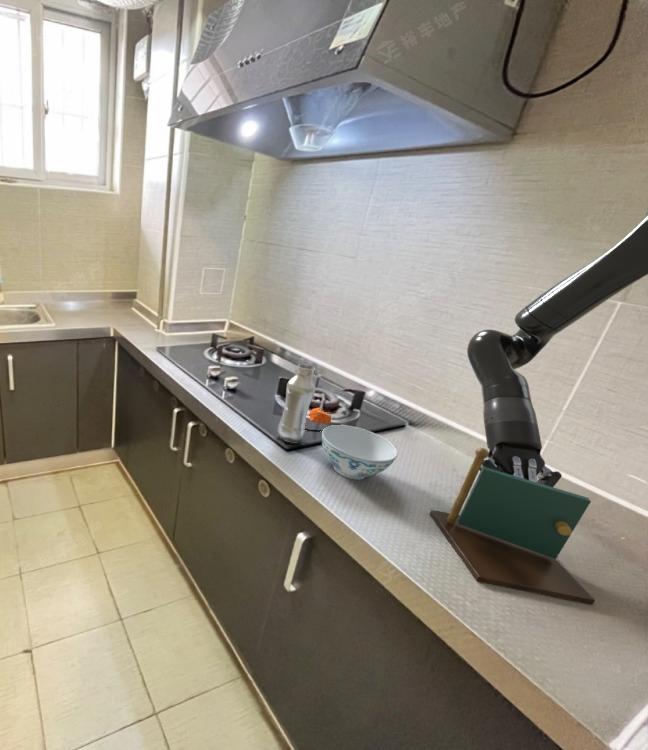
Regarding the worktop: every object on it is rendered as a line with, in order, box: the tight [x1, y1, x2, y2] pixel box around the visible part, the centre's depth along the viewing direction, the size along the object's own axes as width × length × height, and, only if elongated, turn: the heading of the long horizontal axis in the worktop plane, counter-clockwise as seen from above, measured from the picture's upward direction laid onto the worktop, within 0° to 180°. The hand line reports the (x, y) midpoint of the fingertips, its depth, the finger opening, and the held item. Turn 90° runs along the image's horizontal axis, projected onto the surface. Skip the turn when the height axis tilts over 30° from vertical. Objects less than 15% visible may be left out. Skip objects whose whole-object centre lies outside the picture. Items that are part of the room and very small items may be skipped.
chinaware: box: [321, 424, 398, 480], centre depth 87 cm, size 15×15×8 cm
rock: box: [309, 407, 332, 424], centre depth 110 cm, size 12×12×4 cm
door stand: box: [429, 447, 596, 606], centre depth 65 cm, size 16×16×17 cm
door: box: [458, 467, 592, 560], centre depth 66 cm, size 14×3×12 cm, turn 58°
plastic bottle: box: [276, 363, 316, 443], centre depth 96 cm, size 6×7×20 cm
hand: (525, 519), depth 68 cm, fingers closed
